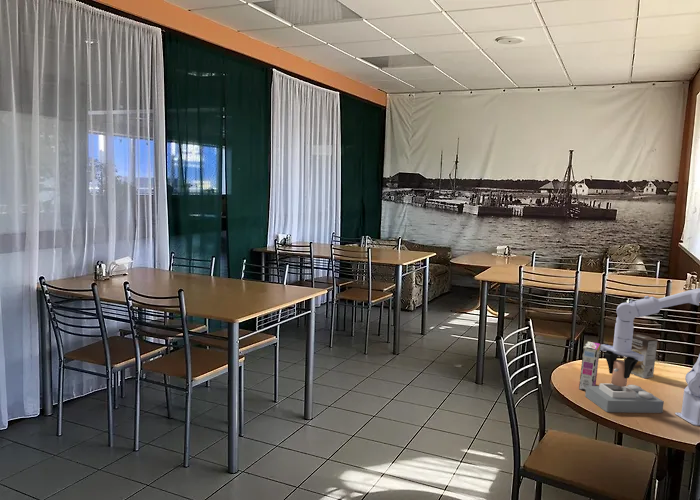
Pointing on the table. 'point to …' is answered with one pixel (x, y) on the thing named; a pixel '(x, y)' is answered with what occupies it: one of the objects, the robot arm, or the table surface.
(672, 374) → the table surface
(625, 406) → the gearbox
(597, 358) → the candy bar box
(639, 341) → the coffee box
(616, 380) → the peach tapered capsule
